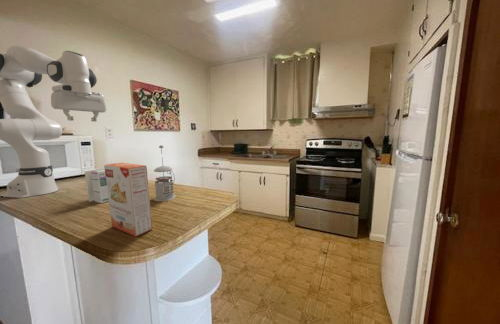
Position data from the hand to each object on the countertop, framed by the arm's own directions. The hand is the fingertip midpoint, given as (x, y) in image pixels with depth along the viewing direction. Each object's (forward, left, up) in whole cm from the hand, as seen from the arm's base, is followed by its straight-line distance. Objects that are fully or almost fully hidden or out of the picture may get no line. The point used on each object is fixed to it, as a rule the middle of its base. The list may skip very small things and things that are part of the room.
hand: (82, 121), depth 95 cm
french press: (+37, -2, -37) cm, 52 cm away
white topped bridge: (+10, -1, -37) cm, 38 cm away
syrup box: (+10, -6, -37) cm, 39 cm away
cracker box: (+39, -35, -37) cm, 64 cm away
